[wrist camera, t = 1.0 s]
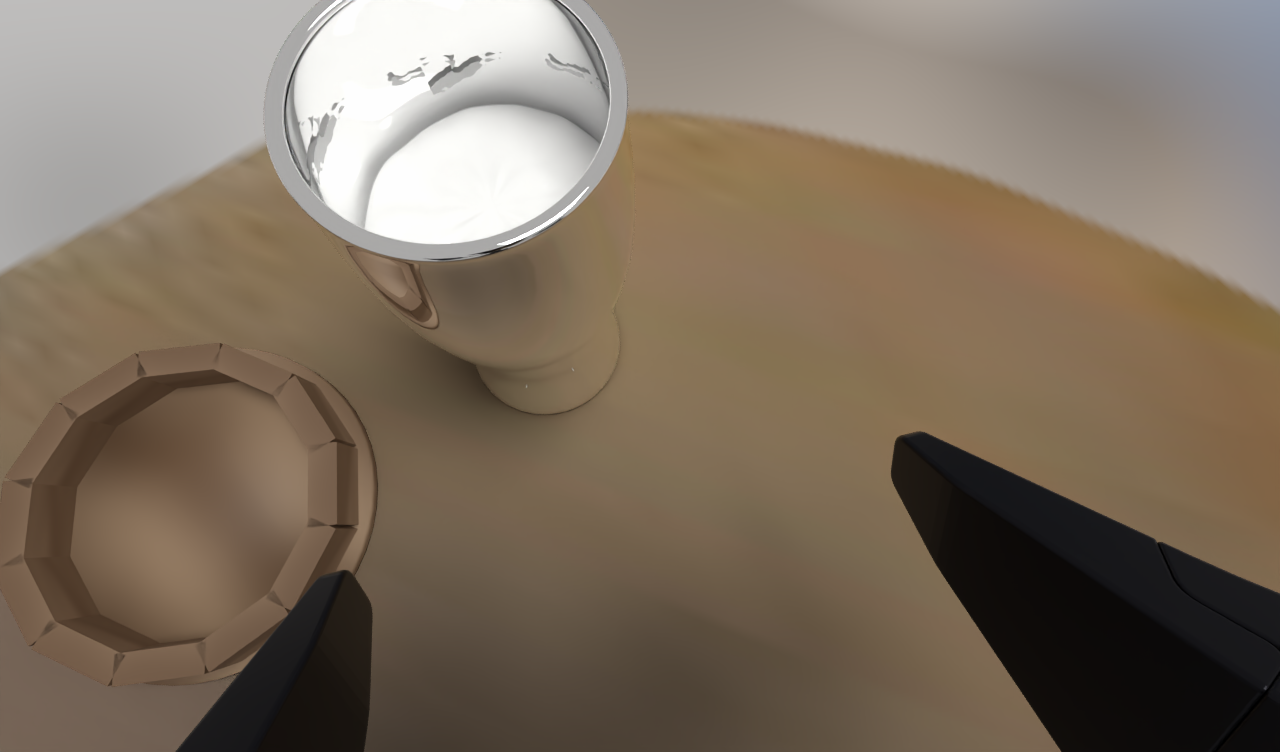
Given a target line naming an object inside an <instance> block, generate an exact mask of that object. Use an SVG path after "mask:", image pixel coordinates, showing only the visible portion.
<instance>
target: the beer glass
mask: <svg viewBox="0 0 1280 752" xmlns="http://www.w3.org/2000/svg"><path fill="white" fill-rule="evenodd" d="M264 132H265V139H266V143H267V148H268V151H269V155H270V158H271V160H272V163H273V165H274V168H275V170H276V172H277V174H278V176H279V178H280V180H281V182H282V184H283V185H284V187H285V188H286V190H287V191H288V193H289V194H290V195H291V197H292V198H293V199H294V201H295V202H296V203H297V204H298V205H299V206H300V208H301V209H302V210H303V211H304V212H305V213H306V214H307V215H308V216H310V217H311V218H312V219H313V220H314V222H315V223H316V224H317V225H318V227H319V228H320V229H321V231H322V232H323V233H324V235H325V236H326V237H327V239H328V240H329V241H330V243H331V244H332V245H333V247H334V248H335V249H336V251H337V252H338V253H339V254H340V256H341V257H342V258H343V259H344V261H345V262H346V263H347V264H348V265H349V267H350V268H351V269H352V270H353V272H354V273H355V274H356V275H357V277H358V278H359V279H360V280H361V281H362V282H363V283H364V284H365V285H366V286H367V287H368V289H369V290H370V291H371V292H372V293H373V294H374V295H375V296H376V297H377V298H378V299H379V300H380V301H381V303H382V304H383V305H384V306H385V307H386V308H387V309H389V310H390V311H391V312H392V313H393V314H394V315H396V316H397V317H398V318H399V319H400V320H401V321H403V322H404V323H405V324H406V325H407V326H409V327H410V328H411V329H412V330H413V331H415V332H416V333H417V334H418V335H420V336H421V337H423V338H424V339H426V340H427V341H429V342H431V343H432V344H434V345H436V346H438V347H440V348H441V349H443V350H445V351H447V352H449V353H450V354H452V355H454V356H456V357H459V358H461V359H463V360H466V361H468V362H471V363H473V364H475V366H476V369H477V371H478V373H479V375H480V377H481V379H482V381H483V382H484V384H485V385H486V386H487V388H488V389H489V390H490V391H491V392H492V393H493V394H494V395H495V396H496V397H497V398H498V399H500V400H501V401H502V402H504V403H505V404H507V405H509V406H511V407H513V408H515V409H518V410H521V411H524V412H528V413H533V414H555V413H561V412H565V411H568V410H571V409H574V408H576V407H578V406H580V405H582V404H584V403H586V402H587V401H589V400H590V399H591V398H593V397H594V396H595V395H596V394H597V393H598V392H599V391H600V390H601V389H602V388H603V387H604V385H605V384H606V383H607V381H608V380H609V378H610V377H611V375H612V373H613V371H614V369H615V367H616V364H617V361H618V357H619V352H620V333H619V327H618V323H617V320H616V317H615V315H614V312H613V310H614V308H615V306H616V303H617V301H618V299H619V297H620V294H621V291H622V288H623V285H624V282H625V279H626V275H627V272H628V269H629V266H630V261H631V256H632V249H633V240H634V230H635V219H636V199H635V172H634V162H633V151H632V141H631V133H630V126H629V118H628V84H627V78H626V72H625V68H624V64H623V61H622V58H621V55H620V52H619V50H618V47H617V45H616V43H615V41H614V39H613V37H612V35H611V33H610V32H609V30H608V28H607V27H606V25H605V24H604V22H603V21H602V19H601V18H600V17H599V15H598V14H597V13H596V12H595V11H594V10H593V8H592V7H591V6H589V4H588V3H587V2H586V1H585V0H320V1H319V2H318V3H317V4H316V5H315V6H314V7H313V8H311V9H310V10H309V11H308V13H307V14H306V15H305V16H304V17H303V18H302V19H301V20H300V21H299V22H298V24H297V25H296V26H295V28H294V29H293V30H292V32H291V33H290V34H289V36H288V38H287V39H286V41H285V42H284V44H283V46H282V47H281V49H280V51H279V53H278V55H277V58H276V60H275V62H274V64H273V67H272V70H271V73H270V76H269V79H268V83H267V88H266V93H265V100H264Z"/></svg>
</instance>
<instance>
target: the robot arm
mask: <svg viewBox="0 0 1280 752" xmlns="http://www.w3.org/2000/svg"><path fill="white" fill-rule="evenodd" d="M891 478H892V481H893V484H894V486H895V488H896V490H897V492H898V494H899V496H900V498H901V500H902V502H903V504H904V506H905V507H906V509H907V511H908V513H909V515H910V517H911V519H912V521H913V523H914V525H915V526H916V528H917V530H918V532H919V534H920V536H921V538H922V540H923V542H924V544H925V545H926V547H927V549H928V551H929V553H930V555H931V557H932V558H933V560H934V562H935V564H936V565H937V567H938V568H939V570H940V571H941V573H942V575H943V576H944V578H945V579H946V581H947V582H948V584H949V585H950V587H951V588H952V590H953V591H954V593H955V594H956V596H957V597H958V599H959V600H960V602H961V603H962V604H963V606H964V607H965V609H966V610H967V612H968V613H969V615H970V616H971V618H972V619H973V621H974V622H975V624H976V625H977V627H978V628H979V630H980V631H981V633H982V634H983V636H984V637H985V639H986V640H987V642H988V643H989V645H990V646H991V648H992V649H993V651H994V652H995V654H996V655H997V657H998V658H999V660H1000V661H1001V663H1002V664H1003V666H1004V667H1005V668H1006V670H1007V671H1008V673H1009V674H1010V676H1011V677H1012V679H1013V680H1014V682H1015V683H1016V685H1017V686H1018V688H1019V689H1020V691H1021V692H1022V694H1023V695H1024V697H1025V698H1026V700H1027V701H1028V703H1029V704H1030V706H1031V707H1032V709H1033V710H1034V712H1035V713H1036V715H1037V716H1038V718H1039V719H1040V721H1041V722H1042V724H1043V725H1044V727H1045V728H1046V729H1047V731H1048V732H1049V734H1050V735H1051V737H1052V738H1053V740H1054V741H1055V743H1056V744H1057V746H1058V747H1059V749H1060V750H1061V752H1280V593H1277V592H1275V591H1272V590H1270V589H1268V588H1265V587H1263V586H1260V585H1258V584H1255V583H1253V582H1251V581H1248V580H1246V579H1243V578H1241V577H1238V576H1236V575H1234V574H1232V573H1229V572H1227V571H1225V570H1223V569H1220V568H1218V567H1216V566H1214V565H1211V564H1209V563H1207V562H1205V561H1202V560H1200V559H1198V558H1196V557H1193V556H1191V555H1189V554H1187V553H1185V552H1183V551H1180V550H1178V549H1176V548H1174V547H1172V546H1170V545H1167V544H1165V543H1163V542H1158V543H1157V542H1156V540H1155V539H1154V538H1152V537H1150V536H1148V535H1145V534H1143V533H1141V532H1139V531H1137V530H1135V529H1133V528H1130V527H1128V526H1126V525H1124V524H1122V523H1120V522H1117V521H1115V520H1113V519H1111V518H1109V517H1107V516H1104V515H1102V514H1100V513H1098V512H1096V511H1094V510H1091V509H1089V508H1087V507H1085V506H1083V505H1081V504H1079V503H1076V502H1074V501H1072V500H1070V499H1068V498H1066V497H1063V496H1061V495H1059V494H1057V493H1055V492H1053V491H1050V490H1048V489H1046V488H1044V487H1042V486H1040V485H1038V484H1035V483H1033V482H1031V481H1029V480H1027V479H1025V478H1022V477H1020V476H1018V475H1016V474H1014V473H1012V472H1009V471H1007V470H1005V469H1003V468H1001V467H999V466H997V465H994V464H992V463H990V462H988V461H986V460H984V459H981V458H979V457H977V456H975V455H973V454H971V453H968V452H966V451H964V450H962V449H960V448H958V447H956V446H953V445H951V444H949V443H947V442H945V441H943V440H940V439H938V438H936V437H934V436H932V435H930V434H927V433H925V432H921V431H919V432H913V433H909V434H905V435H901V436H899V437H898V438H897V439H896V441H895V445H894V452H893V459H892V467H891ZM371 649H372V607H371V603H370V601H369V599H368V597H367V595H366V594H365V592H364V591H363V589H362V588H361V586H360V584H359V583H358V581H357V580H356V578H355V577H354V575H353V574H352V573H351V572H350V571H349V570H340V571H336V572H332V573H328V574H324V575H322V576H320V577H319V578H317V579H316V580H315V582H314V583H313V584H312V585H311V587H310V588H309V589H308V590H307V591H306V593H305V594H304V595H303V596H302V598H301V599H300V600H299V601H298V602H297V604H296V605H295V606H294V607H293V609H292V610H291V611H290V612H289V613H288V615H287V616H286V617H285V618H284V620H283V621H282V622H281V623H280V624H279V626H278V627H277V628H276V629H275V631H274V632H273V633H272V634H271V635H270V637H269V638H268V639H267V640H266V642H265V643H264V644H263V645H262V646H261V648H260V649H259V650H258V651H257V653H256V654H255V655H254V656H253V657H252V659H251V660H250V661H249V662H248V664H247V665H246V666H245V667H244V668H243V670H242V671H241V672H240V673H239V675H238V676H237V677H236V678H235V679H234V681H233V682H232V683H231V684H230V686H229V687H228V688H227V689H226V691H225V692H224V693H223V694H222V695H221V697H220V698H219V699H218V700H217V702H216V703H215V704H214V705H213V706H212V708H211V709H210V710H209V711H208V713H207V714H206V715H205V716H204V717H203V719H202V720H201V721H200V722H199V724H198V725H197V726H196V727H195V728H194V730H193V731H192V732H191V733H190V735H189V736H188V737H187V738H186V739H185V741H184V742H183V743H182V744H181V746H180V747H179V748H178V749H177V750H176V752H364V747H365V740H366V733H367V726H368V717H369V705H370V682H371Z"/></svg>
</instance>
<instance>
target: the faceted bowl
mask: <svg viewBox="0 0 1280 752" xmlns="http://www.w3.org/2000/svg"><path fill="white" fill-rule="evenodd" d="M60 401H61V403H62V404H61V403H55V405H54V406H53V408H52V409H51V410H50V412H49V413H48V415H47V416H46V418H45V419H44V421H43V422H42V424H41V425H40V426H39V428H38V429H37V431H36V432H35V434H34V435H33V437H32V438H31V440H30V441H29V442H28V444H27V445H26V447H25V448H24V450H23V451H22V453H21V454H20V456H19V457H18V458H17V460H16V461H15V463H14V464H13V466H12V467H11V469H10V470H9V472H8V473H7V474H6V476H5V478H7V479H9V480H12V481H3V484H2V492H1V500H0V589H1V591H2V594H3V596H4V598H5V600H6V602H7V604H8V606H9V608H10V610H11V612H12V614H13V616H14V618H15V620H16V622H17V624H18V626H19V628H20V630H21V632H22V634H23V636H24V639H25V641H26V643H27V645H28V646H32V645H34V646H33V647H32V650H34V651H36V652H38V653H40V654H42V655H44V656H46V657H48V658H50V659H52V660H54V661H56V662H58V663H60V664H63V665H65V666H67V667H69V668H71V669H73V670H75V671H77V672H79V673H81V674H83V675H85V676H87V677H89V678H91V679H93V680H95V681H97V682H99V683H101V684H103V685H106V686H110V685H112V687H115V686H123V685H130V684H137V683H146V684H154V685H168V686H175V685H189V684H198V683H203V682H207V681H212V680H217V679H221V678H224V677H227V676H229V675H232V674H235V673H238V672H241V671H242V670H243V668H244V667H245V666H246V665H247V664H248V662H249V661H250V660H251V659H252V657H253V656H254V655H255V654H256V653H257V651H258V650H259V649H260V648H261V646H262V645H263V644H264V643H265V642H266V640H267V639H268V638H269V637H270V635H271V634H272V633H273V632H274V631H275V629H276V628H277V627H278V626H279V624H280V623H281V622H282V621H283V620H284V618H285V617H286V616H287V615H288V613H289V612H290V611H291V610H292V609H293V607H294V606H295V605H296V604H297V602H298V601H299V600H300V599H301V598H302V596H303V595H304V594H305V593H306V591H307V590H308V589H309V588H310V587H311V585H312V584H313V583H314V582H315V580H316V579H317V578H319V577H320V576H322V575H324V574H328V573H332V572H336V571H340V570H349V571H350V572H351V573H352V574H353V575H355V574H356V572H357V570H358V568H359V565H360V563H361V561H362V559H363V556H364V554H365V552H366V550H367V546H368V543H369V540H370V536H371V533H372V530H373V525H374V520H375V514H376V508H377V491H378V483H377V471H376V463H375V459H374V454H373V450H372V446H371V443H370V441H369V438H368V435H367V433H366V430H365V428H364V426H363V424H362V422H361V420H360V419H359V417H358V415H357V413H356V411H355V410H354V409H353V407H352V406H351V405H350V404H349V402H348V401H347V400H346V398H345V397H344V396H343V395H342V394H341V393H340V392H339V391H338V390H337V389H336V388H335V387H334V386H333V385H332V384H331V383H329V382H328V381H326V380H325V379H324V378H322V377H321V376H319V375H318V374H317V373H315V372H313V371H311V370H310V369H308V368H306V367H304V366H302V365H300V364H298V363H296V362H294V361H292V360H290V359H287V358H284V357H281V356H279V355H276V354H273V353H269V352H264V351H259V350H254V349H243V348H233V347H231V346H229V345H226V344H221V343H214V344H205V345H196V346H187V347H178V348H168V349H159V350H150V351H141V352H139V355H138V354H136V353H134V354H133V355H131V356H129V357H128V358H126V359H124V360H123V361H121V362H120V363H118V364H116V365H115V366H113V367H111V368H110V369H108V370H106V371H105V372H103V373H102V374H100V375H98V376H97V377H95V378H93V379H92V380H90V381H88V382H87V383H85V384H84V385H82V386H80V387H79V388H77V389H75V390H74V391H72V392H70V393H69V394H67V395H66V396H64V397H62V398H61V399H60Z"/></svg>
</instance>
